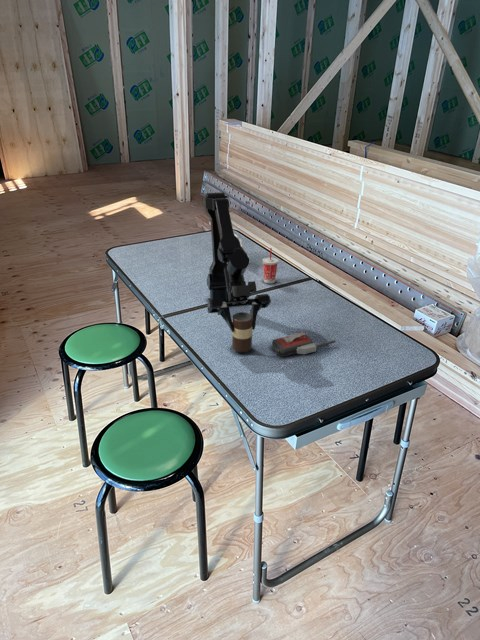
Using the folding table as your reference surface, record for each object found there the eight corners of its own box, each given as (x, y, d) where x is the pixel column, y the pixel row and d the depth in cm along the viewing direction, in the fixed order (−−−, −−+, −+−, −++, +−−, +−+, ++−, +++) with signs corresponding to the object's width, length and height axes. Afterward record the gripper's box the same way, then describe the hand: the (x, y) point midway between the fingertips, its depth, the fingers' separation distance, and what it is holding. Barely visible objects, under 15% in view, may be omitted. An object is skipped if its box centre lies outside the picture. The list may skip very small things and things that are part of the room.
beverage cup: (277, 278, 199) (279, 245, 192) (276, 284, 194) (278, 251, 187) (262, 277, 200) (263, 245, 193) (261, 283, 194) (262, 250, 188)
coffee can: (236, 354, 147) (237, 323, 142) (229, 344, 152) (229, 313, 147) (255, 349, 149) (256, 319, 144) (246, 340, 154) (247, 310, 149)
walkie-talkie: (282, 362, 145) (336, 346, 153) (283, 349, 143) (338, 334, 151) (267, 348, 152) (320, 334, 160) (268, 336, 150) (321, 322, 158)
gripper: (208, 274, 140) (216, 326, 136) (270, 269, 145) (280, 319, 140) (204, 288, 151) (211, 336, 147) (262, 282, 155) (270, 330, 151)
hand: (243, 330), depth 146 cm, fingers closed on coffee can, 6 cm apart
